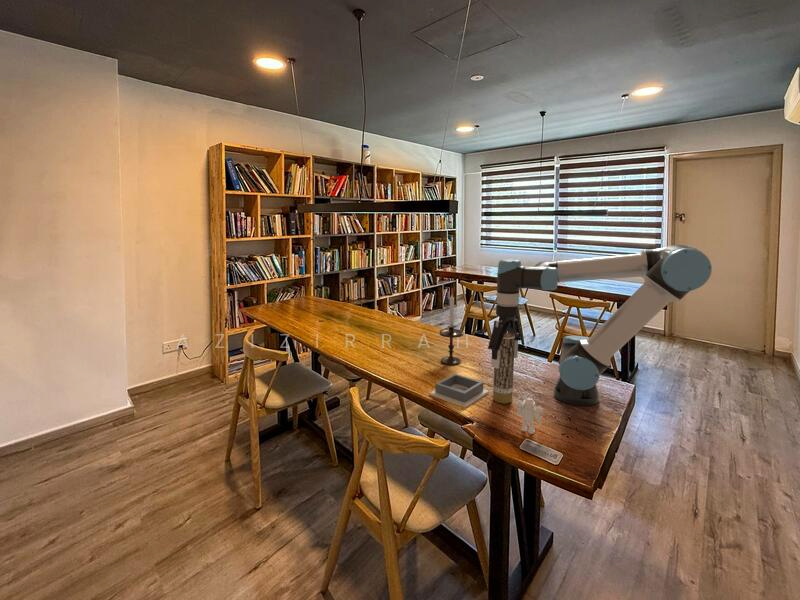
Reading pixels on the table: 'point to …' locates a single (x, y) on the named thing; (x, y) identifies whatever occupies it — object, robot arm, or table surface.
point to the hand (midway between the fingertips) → (504, 362)
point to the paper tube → (504, 371)
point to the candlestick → (451, 336)
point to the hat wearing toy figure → (528, 413)
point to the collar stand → (459, 390)
